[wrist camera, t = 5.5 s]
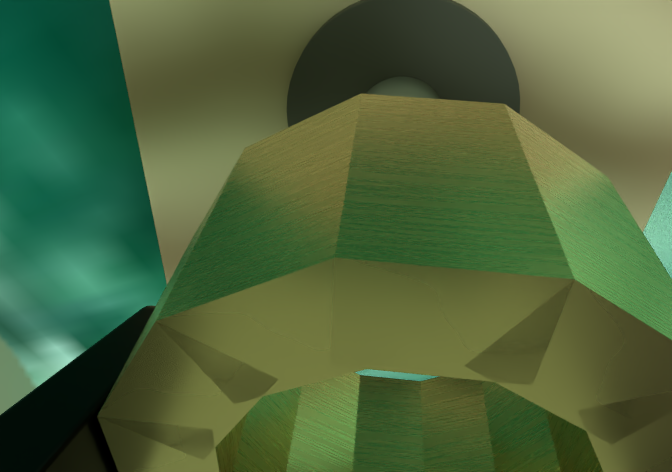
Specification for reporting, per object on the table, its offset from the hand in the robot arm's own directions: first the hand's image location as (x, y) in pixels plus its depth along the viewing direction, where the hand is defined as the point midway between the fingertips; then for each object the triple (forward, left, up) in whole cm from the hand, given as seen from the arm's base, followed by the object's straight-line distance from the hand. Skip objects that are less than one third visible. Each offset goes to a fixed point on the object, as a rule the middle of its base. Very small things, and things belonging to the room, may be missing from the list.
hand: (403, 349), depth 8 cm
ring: (0, 0, -1) cm, 1 cm away
